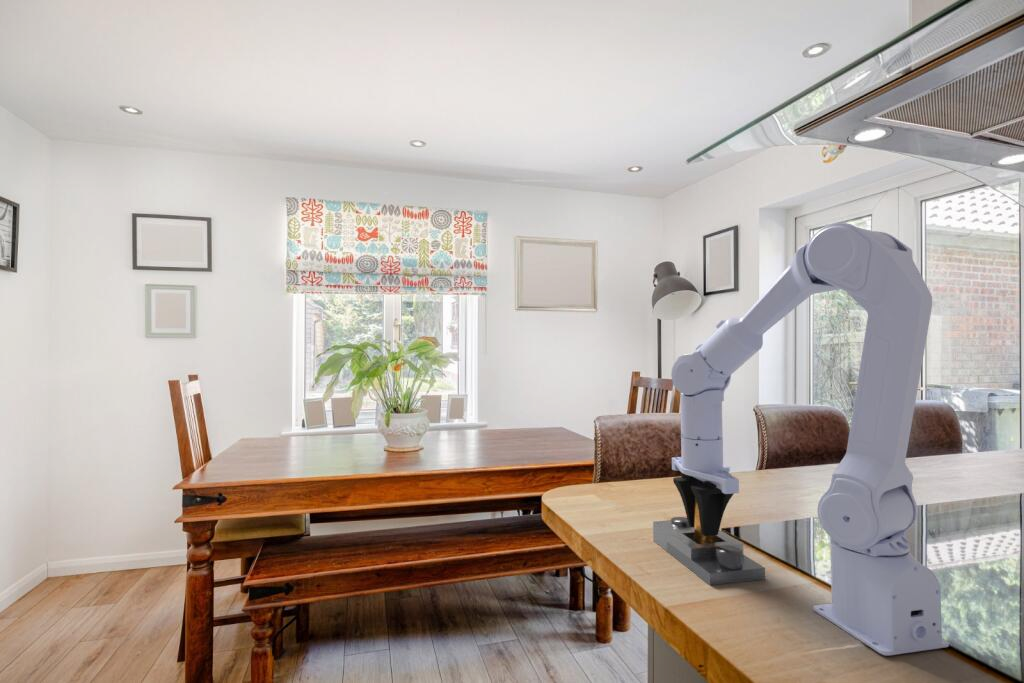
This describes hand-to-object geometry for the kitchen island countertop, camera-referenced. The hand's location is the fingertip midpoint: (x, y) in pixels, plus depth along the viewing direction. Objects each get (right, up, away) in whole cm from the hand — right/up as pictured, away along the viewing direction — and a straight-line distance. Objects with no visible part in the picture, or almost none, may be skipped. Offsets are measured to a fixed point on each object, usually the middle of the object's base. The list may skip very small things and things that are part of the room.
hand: (703, 530), depth 75 cm
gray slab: (0, -4, 0) cm, 4 cm away
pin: (0, -2, 0) cm, 2 cm away
